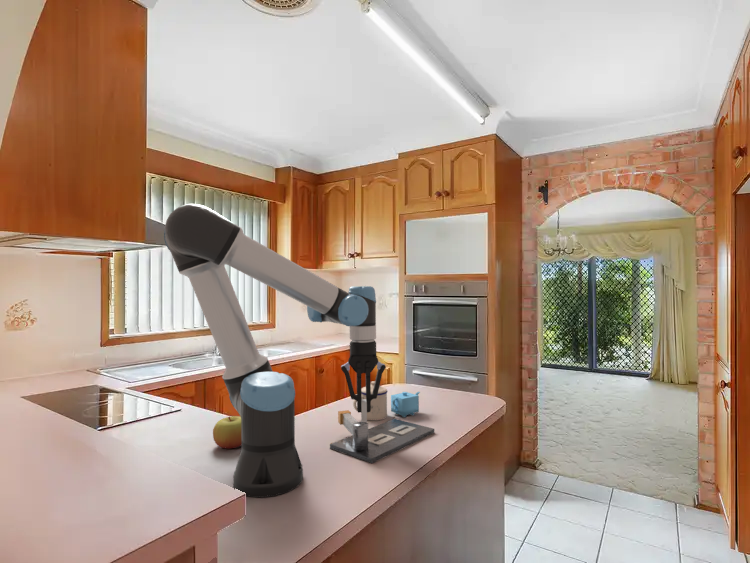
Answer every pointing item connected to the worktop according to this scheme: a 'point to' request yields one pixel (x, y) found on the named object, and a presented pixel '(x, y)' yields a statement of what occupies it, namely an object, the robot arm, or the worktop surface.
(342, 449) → the plate
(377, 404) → the teacup with lid
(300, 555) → the worktop surface
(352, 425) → the grey bar
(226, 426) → the apple
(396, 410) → the teapot
